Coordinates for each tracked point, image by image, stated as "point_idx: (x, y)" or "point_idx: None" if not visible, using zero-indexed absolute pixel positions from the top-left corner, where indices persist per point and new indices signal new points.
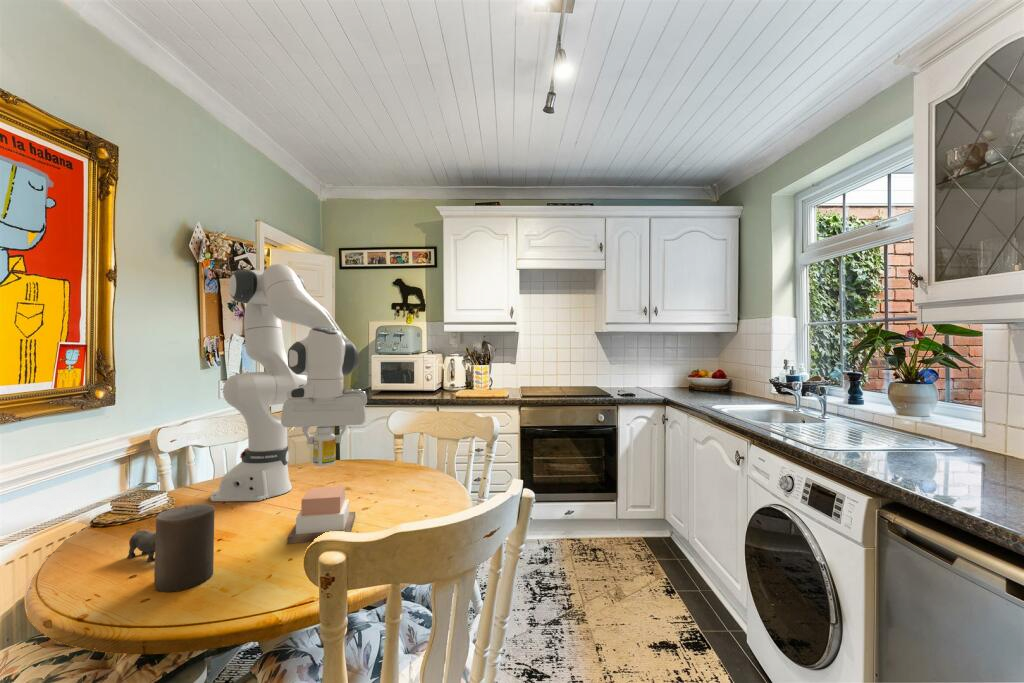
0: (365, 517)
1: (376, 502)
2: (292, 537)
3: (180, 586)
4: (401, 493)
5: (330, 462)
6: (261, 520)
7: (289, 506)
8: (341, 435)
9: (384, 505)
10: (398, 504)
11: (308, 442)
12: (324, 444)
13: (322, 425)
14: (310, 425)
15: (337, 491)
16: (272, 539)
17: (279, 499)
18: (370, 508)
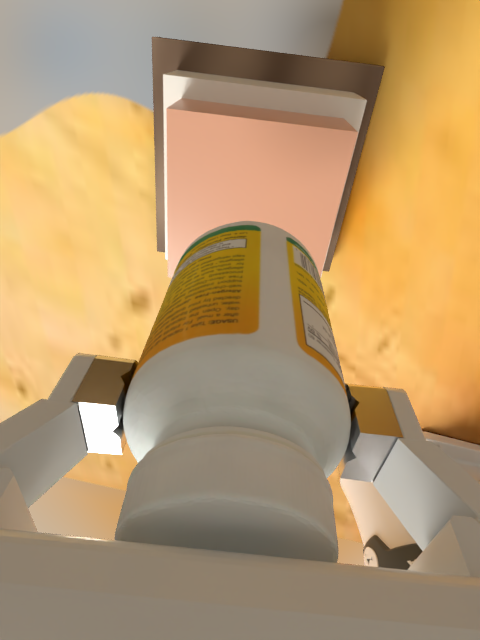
0: (127, 230)
1: (113, 337)
2: (366, 64)
3: None
4: (52, 378)
5: (200, 238)
6: (433, 307)
7: (351, 379)
8: (38, 403)
9: (84, 308)
10: (41, 303)
11: (393, 395)
12: (234, 308)
13: (255, 560)
14: (462, 589)
15: (191, 209)
16: (422, 133)
17: None
18: (123, 298)
